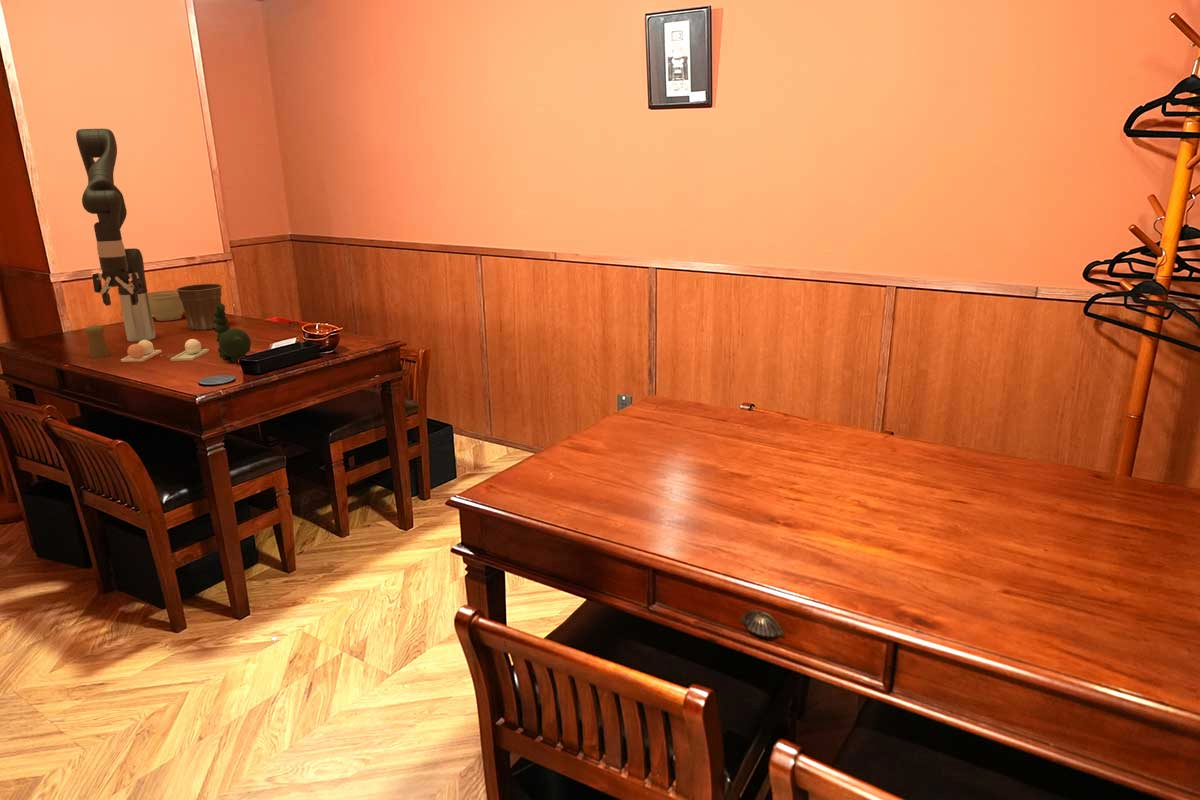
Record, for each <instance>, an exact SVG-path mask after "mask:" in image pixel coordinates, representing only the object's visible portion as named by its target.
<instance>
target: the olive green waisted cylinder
mask: <svg viewBox="0 0 1200 800" xmlns="http://www.w3.org/2000/svg"><path fill="white" fill-rule="evenodd" d="M104 332H105V329H104V327H103V326H102V325H100V324H94V325H93V324H92V325H88V326H87V327H86V328H85V334H86V335H87V336H88V351H89V353H88V354H89V358H90V359H101V358H102V359H103V358H108V357H109V356H110V355H111V354H110V352H109V349H108V346H107V342H106V340H105V338H104V335H103V334H104Z"/></svg>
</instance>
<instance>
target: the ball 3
mask: <svg viewBox="0 0 1200 800" xmlns="http://www.w3.org/2000/svg"><path fill="white" fill-rule="evenodd" d="M184 349H185V351H187V352H189V353H191V354H195V353H198V352H199V351H200V349H202V344H201V342H200V341H199V340H198V339H196V338H195V339H194V338H191V339H188V340H186V341H185V344H184Z"/></svg>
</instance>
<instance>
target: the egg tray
mask: <svg viewBox="0 0 1200 800" xmlns="http://www.w3.org/2000/svg"><path fill="white" fill-rule="evenodd" d="M160 353H162V349H153V351H152V352H151V353H150V354H147V355H143V357H141V358H139V359H133V358H131V357H130V356H129V355H127V356H125V357H123V358H121V359H120V362H123V363H125V362H129V363H130V362H144V361H147V360H149V359H150V358H153V357H154V356H157V355H158V354H160Z"/></svg>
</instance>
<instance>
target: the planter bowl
mask: <svg viewBox="0 0 1200 800" xmlns="http://www.w3.org/2000/svg"><path fill="white" fill-rule="evenodd" d="M148 298H149V303H150V309H151V312H152V316H153V317H154V318H155V320H156V321H159V322H160V321H161V322H162V321H163V322H166V321H167V322H169V321H176V320H180V319H182V317H183V315H182V314H183V313H185V311H184V308H183V304H182V301H181V300H180V297H179V294H178V291H176V289H173V290H169V289H168V290H157V291H150V292H148Z"/></svg>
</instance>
